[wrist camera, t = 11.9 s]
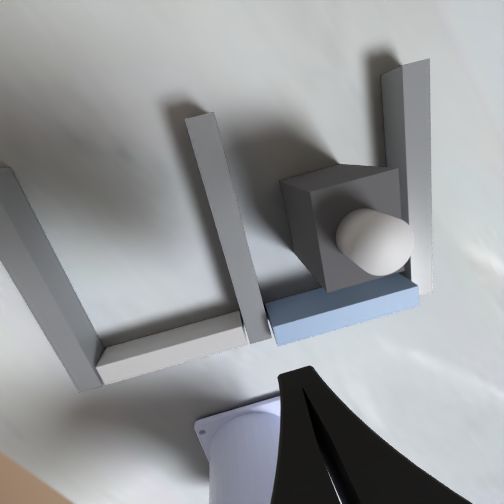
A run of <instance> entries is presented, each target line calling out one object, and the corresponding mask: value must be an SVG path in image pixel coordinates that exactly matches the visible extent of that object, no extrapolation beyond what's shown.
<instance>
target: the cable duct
mask: <svg viewBox="0 0 504 504" xmlns="http://www.w3.org/2000/svg"><path fill="white" fill-rule="evenodd" d="M381 88H382V103H383V118H384V133H385V148H386V163H387V167H390V168H399V185H400V202H401V219H402V220H403V221H405V222H406V223H407V224H408V225H409V226H410V227H411V229H412V231H413V234H414V248H413V251H412V254H411V256H410V258H409V259H408V261H407V262H406V263H405V264H404V270H405V271H402V272H398V273H395V274H391V275H388V276H384V277H381V278H377V279H374V280H370V281H367V282H363V283H360V284H356V285H353V286H349V287H346V288H343V289H339V290H336V291H332V292H329V293H327V292H326V291H325V290H324V288H323V287H322V288H318V289H314V290H311V291H307V292H304V293H300V294H296V295H293V296H289V297H286V298H282V299H279V300H275V301H271V302H268V303H265V306H266V310H267V314H268V318H269V322H270V325H271V328H272V330H273V333H274V336H275V339H276V342H277V345H278V346H281V345H285V344H288V343H292V342H295V341H299V340H302V339H306V338H309V337H313V336H316V335H320V334H323V333H327V332H330V331H334V330H337V329H341V328H344V327H348V326H351V325H355V324H358V323H362V322H365V321H369V320H372V319H376V318H379V317H383V316H386V315H390V314H393V313H397V312H400V311H404V310H407V309H410V308H414V307H417V306H420V305H419V296H420V295H424V294H427V293H431V292H433V270H432V195H431V121H430V58H429V59H425V60H421V61H417V62H413V63H409V64H405V65H402V66H400V67H397V68H395V69H393V70H391V71H389V72H387V73H385V74H383V75H381ZM185 122H186V126H187V129H188V133H189V136H190V140H191V143H192V146H193V150H194V153H195V157H196V160H197V164H198V167H199V170H200V174H201V177H202V181H203V184H204V188H205V191H206V194H207V198H208V201H209V205H210V208H211V211H212V215H213V218H214V222H215V225H216V229H217V232H218V235H219V239H220V242H221V246H222V249H223V253H224V256H225V259H226V263H227V266H228V270H229V273H230V276H231V280H232V283H233V287H234V290H235V294H236V297H237V300H238V304H239V307H240V311H241V314H242V318H243V321H244V324H245V328H246V331H247V335H248V338H249V342H250V344H252V343H255V342H259V341H262V340H266V339H269V338H272V337H271V333H270V329H269V325H268V321H267V317H266V313H265V309H264V305H263V302H262V298H261V294H260V290H259V286H258V282H257V278H256V274H255V270H254V266H253V263H252V259H251V255H250V251H249V247H248V243H247V239H246V235H245V231H244V228H243V224H242V220H241V216H240V212H239V208H238V204H237V200H236V196H235V193H234V189H233V185H232V181H231V177H230V173H229V169H228V165H227V161H226V157H225V154H224V150H223V146H222V142H221V138H220V134H219V130H218V126H217V122H216V119H215V115H214V112H211V113H207V114H203V115H199V116H195V117H191V118H187V119H185ZM0 260H1V262H2V263H3V265H4V267H5V268H6V270H7V272H8V273H9V275H10V277H11V278H12V280H13V282H14V284H15V285H16V287H17V289H18V290H19V292H20V294H21V295H22V297H23V299H24V300H25V302H26V304H27V305H28V307H29V309H30V310H31V312H32V314H33V315H34V317H35V319H36V320H37V322H38V324H39V325H40V327H41V329H42V331H43V332H44V334H45V336H46V337H47V339H48V341H49V342H50V344H51V346H52V347H53V349H54V351H55V352H56V354H57V356H58V357H59V359H60V361H61V362H62V364H63V366H64V367H65V369H66V371H67V372H68V374H69V376H70V378H71V379H72V381H73V383H74V384H75V386H76V388H77V389H78V391H79V393H80V392H83V391H87V390H90V389H94V388H97V387H101V386H103V384H105V385H108V384H112V383H115V382H119V381H122V380H126V379H129V378H133V377H136V376H140V375H143V374H147V373H150V372H154V371H157V370H161V369H164V368H168V367H171V366H175V365H178V364H182V363H185V362H189V361H192V360H196V359H199V358H203V357H206V356H210V355H213V354H217V353H220V352H224V351H227V350H231V349H234V348H238V347H241V346H245V345H247V340H246V335H245V329H244V325H243V322H242V318H241V315H240V311H236V312H232V313H228V314H225V315H221V316H218V317H214V318H210V319H207V320H203V321H200V322H196V323H193V324H189V325H185V326H182V327H178V328H175V329H171V330H167V331H164V332H160V333H157V334H153V335H150V336H146V337H142V338H139V339H135V340H132V341H128V342H124V343H121V344H117V345H114V346H110V347H107V348H106V350H105V349H104V347H103V345H102V343H101V341H100V339H99V338H98V336H97V334H96V332H95V330H94V328H93V326H92V324H91V322H90V320H89V318H88V316H87V314H86V312H85V311H84V309H83V307H82V305H81V303H80V301H79V299H78V297H77V295H76V293H75V291H74V289H73V287H72V285H71V283H70V282H69V280H68V278H67V276H66V274H65V272H64V270H63V268H62V266H61V264H60V262H59V260H58V258H57V256H56V255H55V253H54V251H53V249H52V247H51V245H50V243H49V241H48V239H47V237H46V235H45V233H44V231H43V229H42V227H41V226H40V224H39V222H38V220H37V218H36V216H35V214H34V212H33V210H32V208H31V206H30V204H29V202H28V200H27V199H26V197H25V195H24V193H23V191H22V189H21V187H20V185H19V183H18V181H17V179H16V177H15V175H14V173H13V171H12V170H11V168H10V167H8V168H0Z"/></svg>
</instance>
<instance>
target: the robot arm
mask: <svg viewBox="0 0 504 504" xmlns="http://www.w3.org/2000/svg"><path fill="white" fill-rule="evenodd" d="M277 378H278V382H279V389H280V396H278V397H274V398H271V399H267V400H264V401H261V402H257V403H254V404H250V405H247V406H244V407H240V408H237V409H233V410H230V411H227V412H223V413H220V414H216V415H213V416H210V417H206V418H203V419H199V420H197V421H196V422H195V424H194V430H195V432H196V434H197V437H198V439H199V441H200V444H201V446H202V448H203V450H204V453H205V455H206V457H207V460H208V462H209V464H210V481H209V504H340V502H339V499H338V496H337V494H336V491H335V489H334V486H335V488H336V490H337V493H338V495H339V497H340V500H341V502H342V504H472V503H471V502H469V501H468V500H466V499H465V498H463V497H461V496H460V495H458V494H457V493H455V492H454V491H452V490H451V489H449V488H448V487H446V486H445V485H444V484H442V483H441V482H439V481H438V480H436V479H435V478H434V477H432V476H431V475H429V474H428V473H426V472H425V471H424V470H422V469H421V468H419V467H418V466H416V465H415V464H414V463H412V462H411V461H410V460H409V459H407V458H406V457H405V456H403V455H402V454H401V453H399V452H398V451H397V450H396V449H394V448H393V447H392V446H391V445H389V444H388V443H387V442H386V441H385V440H383V439H382V438H381V437H380V436H379V435H377V434H376V433H375V432H374V431H373V430H372V429H371V428H369V427H368V426H367V425H366V424H365V423H364V422H363V421H362V420H361V419H360V418H359V417H358V416H356V415H355V414H354V413H353V412H352V411H351V410H350V409H349V408H348V407H347V406H346V405H345V404H344V403H343V402H342V401H341V400H340V399H339V398H338V396H337V395H336V394H335V393H334V392H333V391H332V390H331V389H330V388H329V387H328V385H327V384H326V383H325V382H324V381H323V380H322V378H321V377H320V376H319V375H318V373H317V372H316V371H315V369H314V368H313V367H312V366H307V367H303V368H300V369H296V370H293V371H289V372H286V373H283V374H280V375H279V376H278V377H277ZM325 465H326V466H325ZM326 467H327V468H326ZM327 470H328V471H327ZM328 472H329V473H328ZM329 474H330V476H329ZM330 477H331V479H332V481H333V484H334V486H333V484H332V481H331V479H330Z"/></svg>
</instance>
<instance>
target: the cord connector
mask: <svg viewBox="0 0 504 504" xmlns="http://www.w3.org/2000/svg"><path fill="white" fill-rule="evenodd" d="M279 182H280V187H281V192H282V197H283V201H284V206H285V211H286V216H287V221H288V226H289V230H290V235H291V240H292V245H293V250H294V253H295V255H296V256H297V257H298V258H299V259H300V261H301V262H302V263H303V264H304V265H305V267H306V268H307V269H308V270H309V272H310V273H311V274H312V275H313V276H314V278H315V279H316V280H317V281H318V282H319V284H320V285H321V286H322V287H323V288H324V290H325V291H326V292H327V293H329V292H332V291H336V290H339V289H343V288H346V287H349V286H353V285H356V284H360V283H363V282H367V281H370V280H374V279H377V278H381V277H384V276H388V275H391V274H395V273H398V272H402V271H405V270H404V264H405V263H406V262H407V261H408V259H409V258H410V256H411V254H412V251H413V248H414V234H413V231H412V229H411V227H410V226H409V225H408V224H407V223H406V222H405V221H403V220H402V219H401V202H400V185H399V168H390V167H376V166H361V165H347V164H338V165H335V166H331V167H327V168H323V169H320V170H316V171H312V172H308V173H305V174H301V175H297V176H294V177H290V178H286V179H282V180H279Z"/></svg>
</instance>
